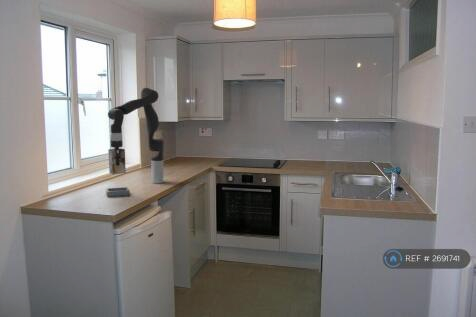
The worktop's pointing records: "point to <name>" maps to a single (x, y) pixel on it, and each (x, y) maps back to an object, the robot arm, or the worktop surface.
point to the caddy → (117, 192)
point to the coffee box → (112, 162)
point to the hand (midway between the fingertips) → (117, 164)
